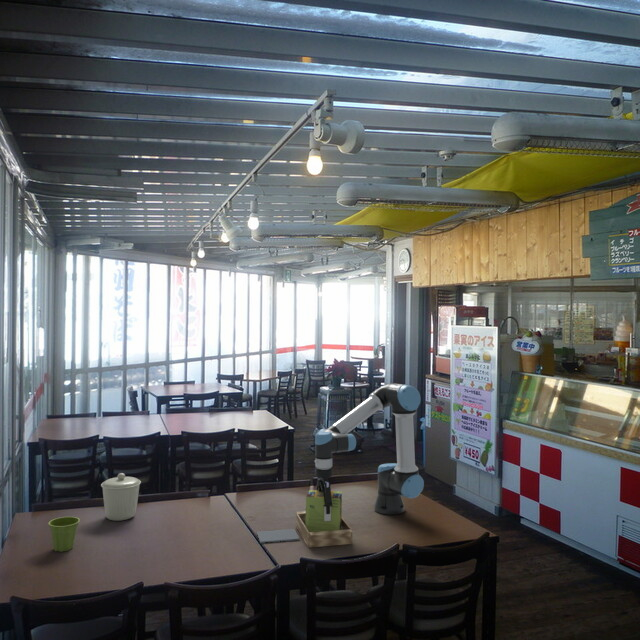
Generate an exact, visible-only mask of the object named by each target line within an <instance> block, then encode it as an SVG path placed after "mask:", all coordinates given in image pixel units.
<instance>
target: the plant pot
mask: <svg viewBox="0 0 640 640" xmlns="http://www.w3.org/2000/svg"><path fill="white" fill-rule="evenodd" d="M80 520H81V519H80V518H79V517H76V516H62V517H56V518H53V519H51V520H50V521H49V522H48V526H49V528H50V532H51V540H52V546H53V550H54V551H55V552H61V553H62V552H68V551H70V550H71V549H73V548H74V544H75V538H76V533H77V528H78V526H79V523H80V522H81V521H80Z"/></svg>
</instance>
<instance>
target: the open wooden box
mask: <svg viewBox="0 0 640 640" xmlns="http://www.w3.org/2000/svg"><path fill="white" fill-rule="evenodd" d="M295 514H296V515H295V527H296V528H297V530H298V532H299V535H300V536H301V537H302V539H303V541H304V543H305V544H306V546H307V548H316V547H317V548H318V547H320V548H321V547H329V546H330V547H331V546H340V545H341V546H342V545H352V544H353V529H352V527H351V526H350V525H349V524H348V523H347V522H346V520H345V519H344V518H343V517H342V518H341V530H335V531H322V532H309V531H308V529H307V528H306V526H305V519H306V510H304V511H296V513H295Z"/></svg>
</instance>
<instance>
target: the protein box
mask: <svg viewBox="0 0 640 640" xmlns="http://www.w3.org/2000/svg"><path fill="white" fill-rule="evenodd" d="M331 498H332V506H331V521H324V505H325V502H324V496H323V492H322V491H318V490H316V489H315V490H314V489H313V490H312V489H310V490H308V492H307V494H306V496H305V511H306V519H305V526H306V528H307V529H308V531H309V533H310V532H322V531H335V530H341V518H343V516H342V515H343V514H342V513H343V512H342V505H343V503H342V502H343V491H337V490H334V491H333V490H331Z"/></svg>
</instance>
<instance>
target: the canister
mask: <svg viewBox="0 0 640 640" xmlns="http://www.w3.org/2000/svg"><path fill="white" fill-rule="evenodd" d="M141 484H142V481H141V480H140V479H138V478H137V477H133V476H126V474H125V473H123V472H119V473H118V474H117V476H115V477H112V478H111V477H110V478H108V479H106V480H104V481H103V482H102V483H101V484H100V487H101V488H102V495H103V497H102V498H103V505H104V513H105V517H106V518H107V519H108V520H110V521H114V522H115V521H118V522H120V521H126V520H129V519H133V517H134V516H135V515H136V512H137V506H138V501H139V500H138V499H139V491H140V485H141Z"/></svg>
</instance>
